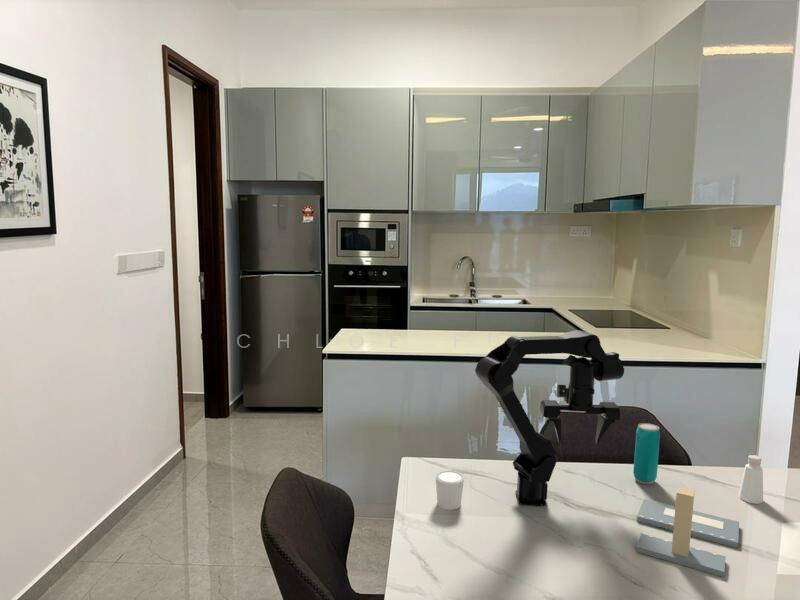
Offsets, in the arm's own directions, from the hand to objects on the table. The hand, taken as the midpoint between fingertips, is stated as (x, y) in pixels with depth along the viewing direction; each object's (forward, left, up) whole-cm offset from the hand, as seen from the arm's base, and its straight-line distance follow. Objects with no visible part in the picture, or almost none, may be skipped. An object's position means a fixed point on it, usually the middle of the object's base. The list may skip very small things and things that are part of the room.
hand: (578, 442), depth 143 cm
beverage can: (+20, +8, -13) cm, 25 cm away
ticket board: (+22, -14, -13) cm, 29 cm away
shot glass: (-32, -9, -13) cm, 36 cm away
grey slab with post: (+15, -27, -13) cm, 33 cm away
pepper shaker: (+43, 0, -13) cm, 45 cm away
